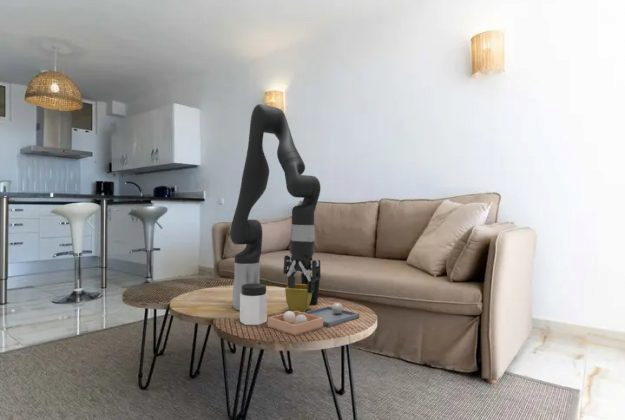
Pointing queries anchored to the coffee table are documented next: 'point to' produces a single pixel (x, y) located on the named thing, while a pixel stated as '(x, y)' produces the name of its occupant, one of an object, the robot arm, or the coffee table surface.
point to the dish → (292, 329)
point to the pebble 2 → (337, 308)
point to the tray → (333, 316)
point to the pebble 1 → (300, 319)
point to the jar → (253, 304)
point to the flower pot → (298, 298)
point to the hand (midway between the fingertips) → (300, 290)
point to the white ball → (289, 317)
